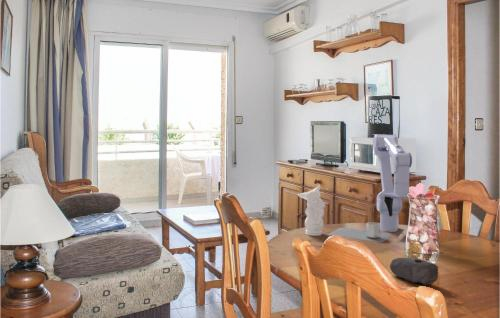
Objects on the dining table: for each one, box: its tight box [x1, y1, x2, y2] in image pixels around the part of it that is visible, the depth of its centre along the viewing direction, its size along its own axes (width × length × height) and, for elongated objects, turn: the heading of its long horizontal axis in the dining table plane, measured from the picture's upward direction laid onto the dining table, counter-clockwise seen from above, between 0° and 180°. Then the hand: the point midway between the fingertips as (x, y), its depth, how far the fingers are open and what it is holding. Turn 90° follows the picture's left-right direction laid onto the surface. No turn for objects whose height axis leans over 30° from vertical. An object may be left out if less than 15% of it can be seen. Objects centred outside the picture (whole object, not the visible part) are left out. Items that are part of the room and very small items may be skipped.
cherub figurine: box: [297, 183, 326, 237], centre depth 185 cm, size 12×12×22 cm
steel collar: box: [365, 221, 381, 238], centre depth 177 cm, size 5×5×5 cm
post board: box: [327, 226, 393, 243], centre depth 182 cm, size 16×23×6 cm
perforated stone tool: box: [389, 257, 439, 286], centre depth 131 cm, size 15×5×7 cm, turn 36°
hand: (400, 217), depth 174 cm, fingers open, 7 cm apart
